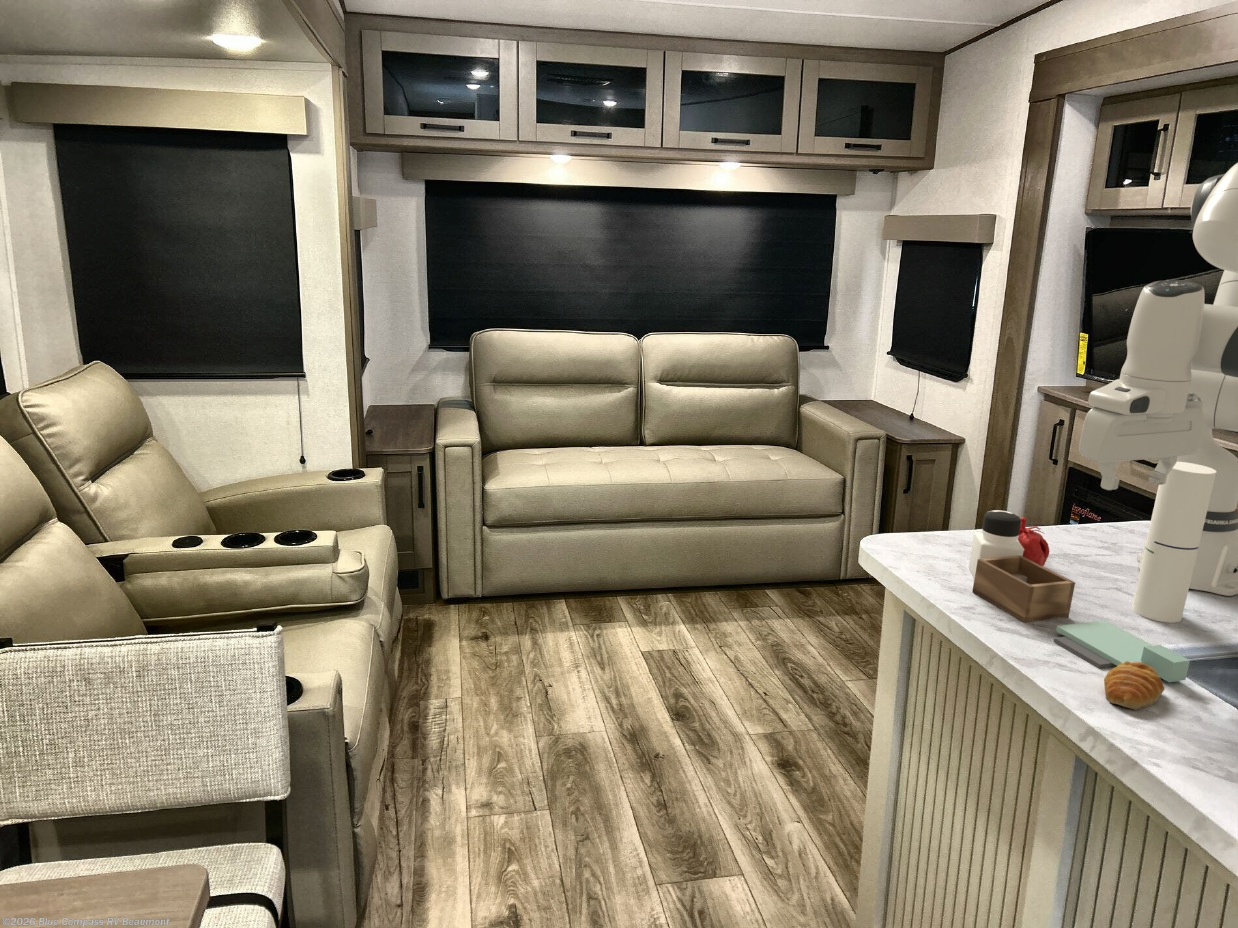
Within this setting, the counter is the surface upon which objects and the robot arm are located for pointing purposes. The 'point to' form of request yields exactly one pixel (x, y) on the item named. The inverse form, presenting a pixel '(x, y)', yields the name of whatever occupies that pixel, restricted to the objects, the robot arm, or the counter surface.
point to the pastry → (1133, 685)
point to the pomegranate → (1033, 544)
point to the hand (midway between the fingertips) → (1132, 486)
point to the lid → (1126, 648)
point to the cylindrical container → (1173, 542)
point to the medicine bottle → (996, 538)
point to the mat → (1083, 652)
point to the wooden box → (1023, 588)
